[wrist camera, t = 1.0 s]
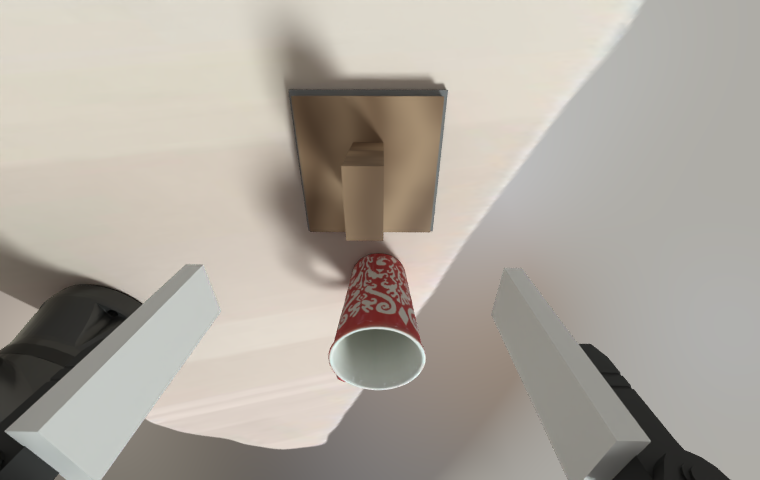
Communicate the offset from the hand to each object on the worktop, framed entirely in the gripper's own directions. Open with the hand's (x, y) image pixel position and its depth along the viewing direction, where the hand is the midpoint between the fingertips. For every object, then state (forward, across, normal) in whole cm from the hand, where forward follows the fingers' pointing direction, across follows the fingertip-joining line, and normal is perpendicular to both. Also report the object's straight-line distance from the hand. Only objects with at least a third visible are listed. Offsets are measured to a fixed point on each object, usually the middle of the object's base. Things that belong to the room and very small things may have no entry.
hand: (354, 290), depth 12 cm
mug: (+21, 0, -16) cm, 26 cm away
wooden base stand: (+20, 0, 0) cm, 20 cm away
